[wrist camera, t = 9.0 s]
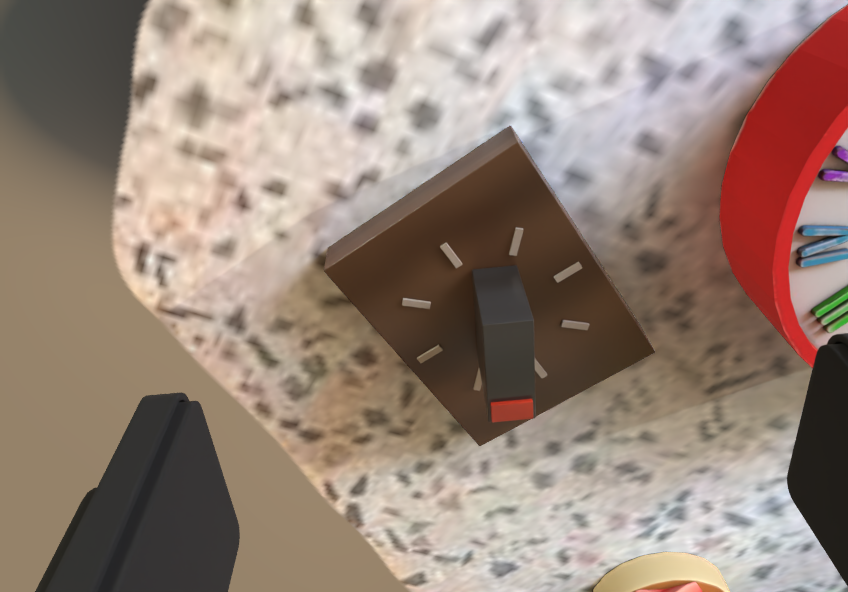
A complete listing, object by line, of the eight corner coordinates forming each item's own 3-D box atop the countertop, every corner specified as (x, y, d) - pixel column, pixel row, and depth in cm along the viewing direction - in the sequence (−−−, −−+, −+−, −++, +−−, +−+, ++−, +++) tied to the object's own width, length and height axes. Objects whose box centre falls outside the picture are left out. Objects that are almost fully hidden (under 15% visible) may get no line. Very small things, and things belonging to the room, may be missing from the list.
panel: (327, 247, 36) (322, 272, 34) (510, 124, 33) (518, 142, 31) (475, 418, 42) (480, 448, 40) (641, 326, 39) (656, 354, 37)
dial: (471, 269, 34) (482, 328, 30) (517, 264, 34) (534, 322, 30) (477, 359, 37) (488, 426, 32) (519, 355, 37) (536, 421, 32)
